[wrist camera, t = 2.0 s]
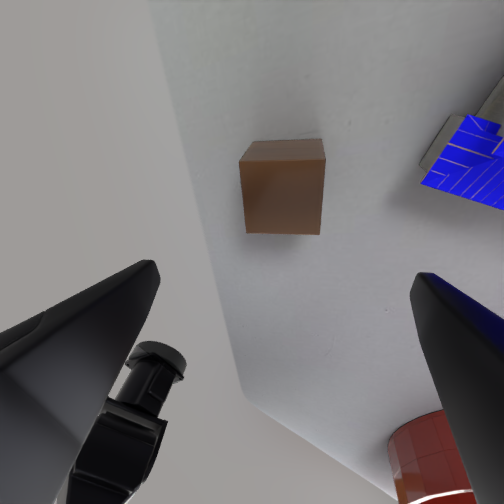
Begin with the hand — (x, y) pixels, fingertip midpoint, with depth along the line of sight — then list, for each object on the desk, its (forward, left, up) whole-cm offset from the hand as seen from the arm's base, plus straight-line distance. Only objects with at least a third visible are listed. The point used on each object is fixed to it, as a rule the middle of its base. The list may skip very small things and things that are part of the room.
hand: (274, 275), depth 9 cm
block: (0, +1, -9) cm, 9 cm away
